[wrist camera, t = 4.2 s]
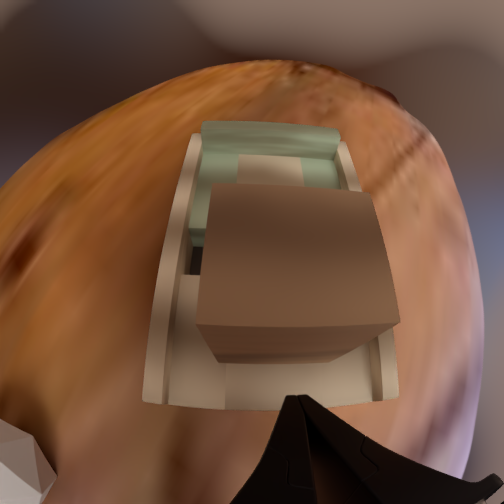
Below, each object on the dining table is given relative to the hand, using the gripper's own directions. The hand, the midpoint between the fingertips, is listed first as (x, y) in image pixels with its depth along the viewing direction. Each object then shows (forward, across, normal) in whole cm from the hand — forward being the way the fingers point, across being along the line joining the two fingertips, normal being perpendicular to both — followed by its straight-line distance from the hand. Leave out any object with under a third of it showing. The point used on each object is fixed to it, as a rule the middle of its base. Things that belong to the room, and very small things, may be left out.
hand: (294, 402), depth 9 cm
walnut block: (+9, 0, -1) cm, 9 cm away
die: (0, -20, -14) cm, 25 cm away
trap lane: (+14, 0, 0) cm, 14 cm away
